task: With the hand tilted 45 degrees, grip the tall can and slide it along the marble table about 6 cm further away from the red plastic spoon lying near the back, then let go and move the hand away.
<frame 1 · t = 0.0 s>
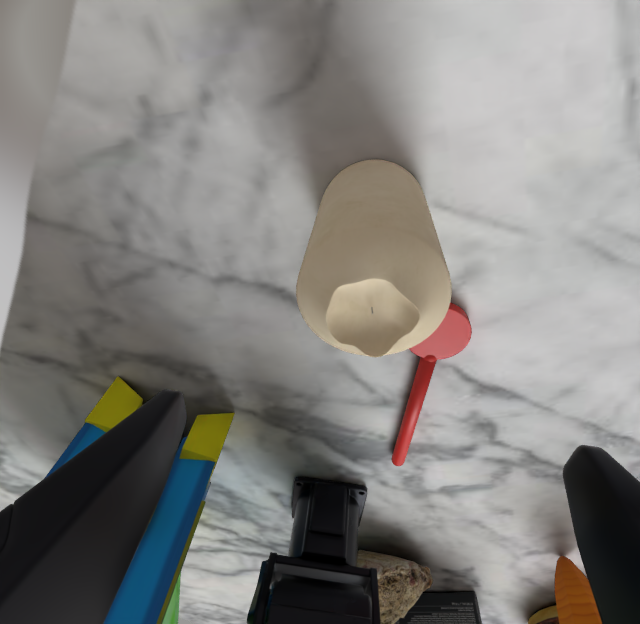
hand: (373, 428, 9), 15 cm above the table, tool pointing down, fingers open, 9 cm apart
food: (585, 617, 46), on the table
decorative book: (164, 459, 37), on the table
spoon: (418, 384, 28), on the table
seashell: (376, 556, 43), on the table
carrot: (561, 554, 39), on the table
box: (404, 601, 49), on the table
candle: (372, 210, 22), on the table
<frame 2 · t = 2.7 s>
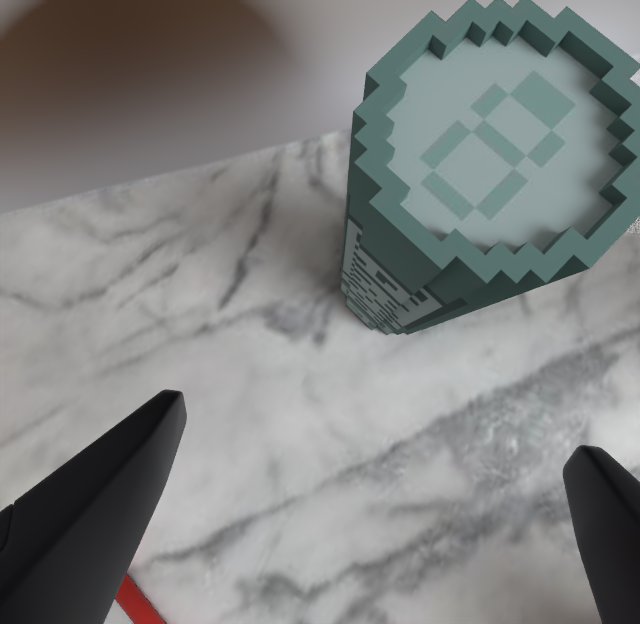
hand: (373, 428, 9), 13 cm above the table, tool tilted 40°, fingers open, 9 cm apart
spoon: (150, 613, 21), on the table
can: (394, 280, 23), on the table
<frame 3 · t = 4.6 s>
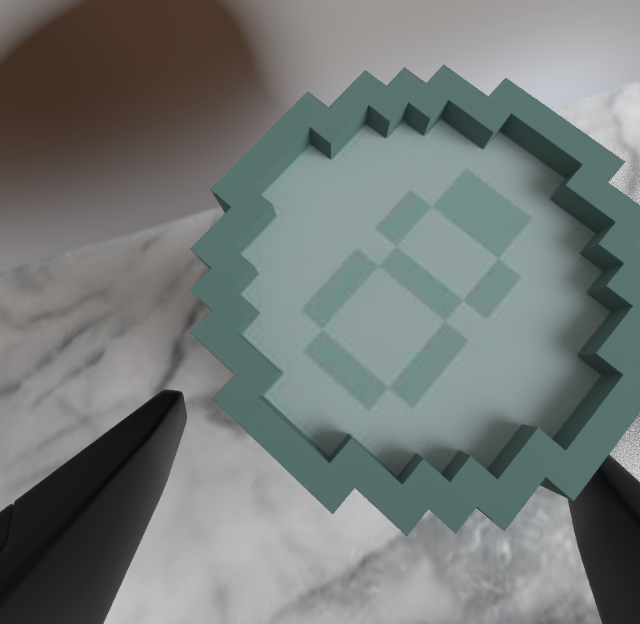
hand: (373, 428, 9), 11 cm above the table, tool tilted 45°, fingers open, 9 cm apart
can: (355, 356, 20), on the table
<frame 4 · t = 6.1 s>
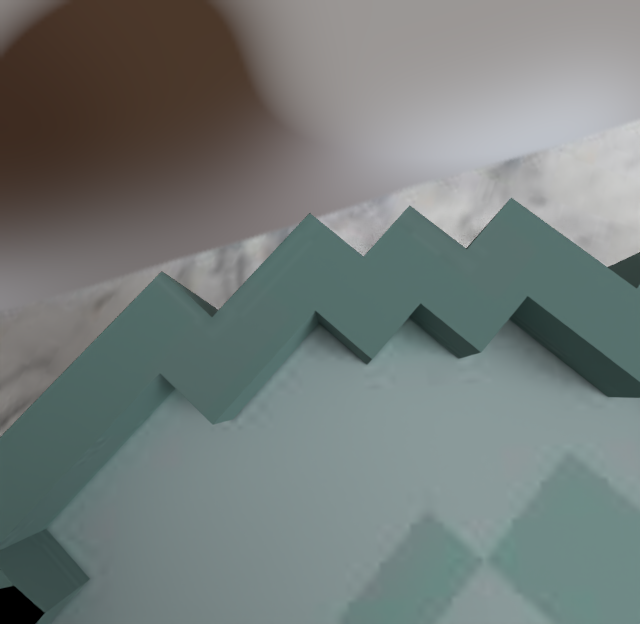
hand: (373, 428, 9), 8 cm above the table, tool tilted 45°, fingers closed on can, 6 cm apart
can: (353, 444, 17), on the table, touching gripper
when the fingers open (8 cm above the table, at t = 9.5 s): can stays where it is, on the table.
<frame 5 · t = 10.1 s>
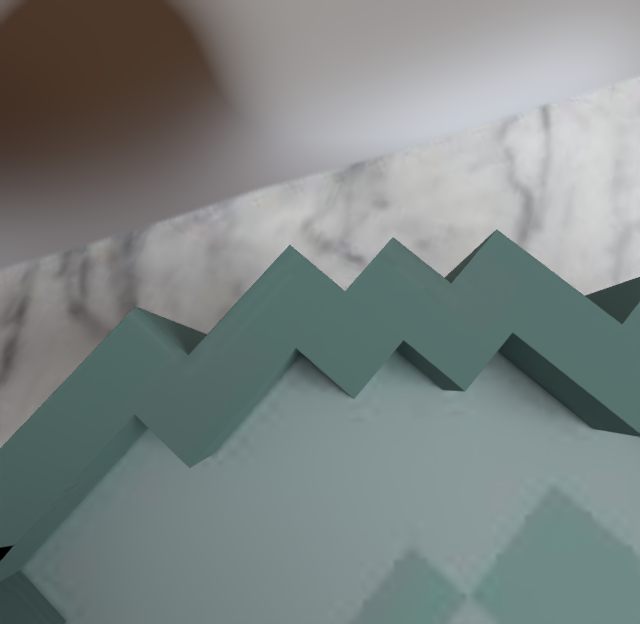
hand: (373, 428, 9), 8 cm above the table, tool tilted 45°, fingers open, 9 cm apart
can: (344, 441, 17), on the table
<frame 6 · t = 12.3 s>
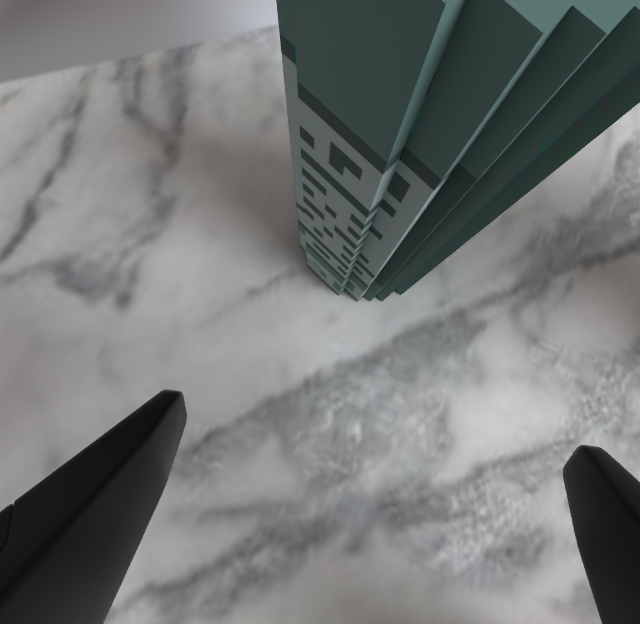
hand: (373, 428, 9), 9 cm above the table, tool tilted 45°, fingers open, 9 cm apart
can: (367, 236, 19), on the table
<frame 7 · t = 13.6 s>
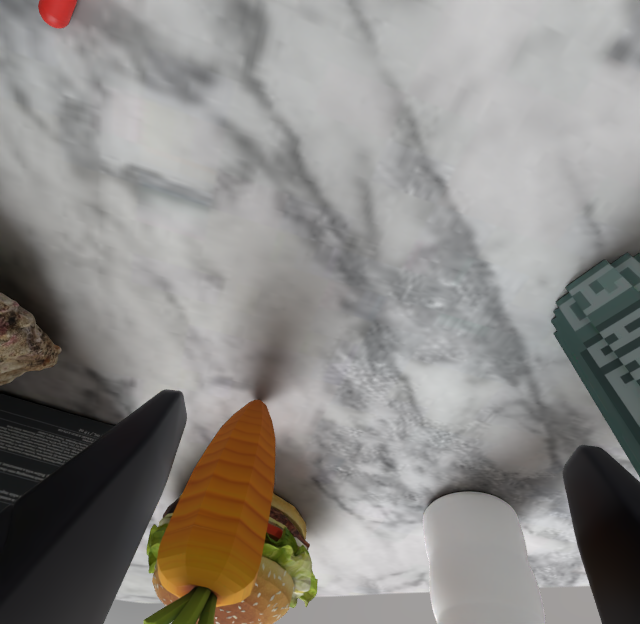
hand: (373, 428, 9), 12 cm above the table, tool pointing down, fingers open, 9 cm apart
food: (248, 514, 36), on the table
carrot: (260, 398, 27), on the table
box: (18, 417, 31), on the table
can: (619, 306, 20), on the table
water bottle: (467, 510, 32), on the table
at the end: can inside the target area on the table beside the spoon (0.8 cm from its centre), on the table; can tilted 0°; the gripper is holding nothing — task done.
